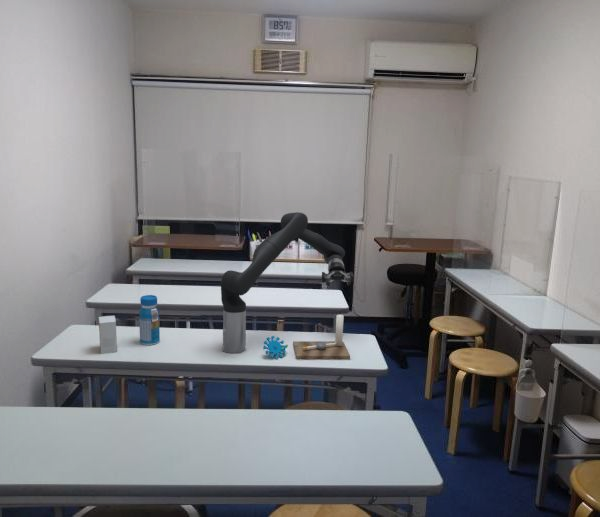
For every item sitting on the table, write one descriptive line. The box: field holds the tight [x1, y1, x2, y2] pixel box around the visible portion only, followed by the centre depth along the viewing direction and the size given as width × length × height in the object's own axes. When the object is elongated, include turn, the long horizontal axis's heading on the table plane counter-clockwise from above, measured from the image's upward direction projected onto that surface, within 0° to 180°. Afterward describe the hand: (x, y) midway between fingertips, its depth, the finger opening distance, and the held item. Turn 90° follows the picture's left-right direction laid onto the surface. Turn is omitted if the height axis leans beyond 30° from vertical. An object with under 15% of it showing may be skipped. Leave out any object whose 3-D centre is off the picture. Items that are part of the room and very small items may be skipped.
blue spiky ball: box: [262, 335, 289, 360], centre depth 209 cm, size 11×6×10 cm
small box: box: [98, 315, 118, 354], centre depth 207 cm, size 8×6×13 cm
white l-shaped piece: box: [302, 314, 344, 350], centre depth 212 cm, size 18×4×13 cm, turn 115°
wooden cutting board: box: [292, 340, 351, 361], centre depth 214 cm, size 22×16×2 cm
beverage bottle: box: [138, 294, 161, 346], centre depth 215 cm, size 8×8×20 cm
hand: (338, 284), depth 220 cm, fingers open, 8 cm apart
